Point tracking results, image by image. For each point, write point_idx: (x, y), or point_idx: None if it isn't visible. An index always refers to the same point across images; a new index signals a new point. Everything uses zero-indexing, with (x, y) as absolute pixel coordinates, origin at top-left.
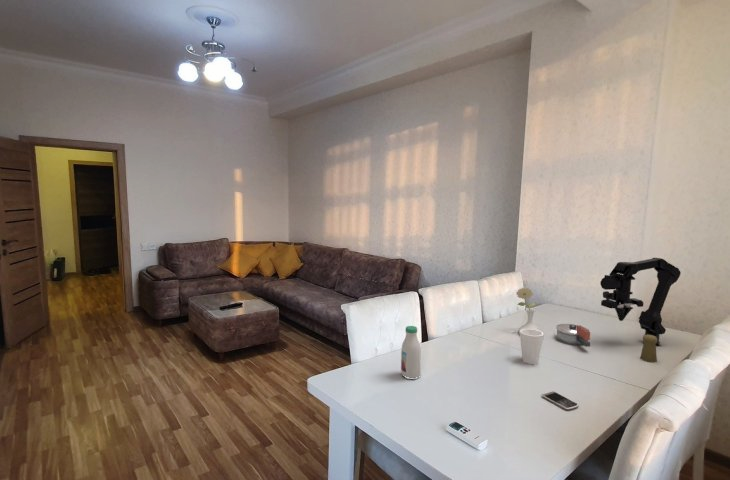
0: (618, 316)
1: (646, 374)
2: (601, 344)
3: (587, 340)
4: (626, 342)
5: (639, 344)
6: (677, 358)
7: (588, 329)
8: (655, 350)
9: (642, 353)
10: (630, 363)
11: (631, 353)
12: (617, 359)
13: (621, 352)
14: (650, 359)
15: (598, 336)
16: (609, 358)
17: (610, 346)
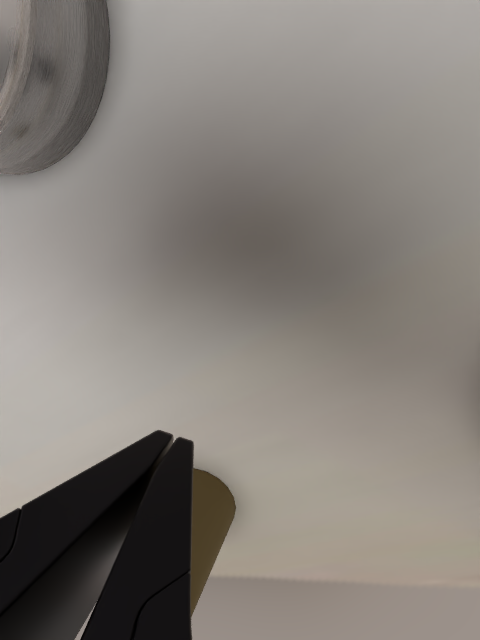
0: (92, 479)
1: None
2: (153, 220)
3: (19, 164)
4: (406, 288)
5: (454, 367)
6: (373, 579)
7: (2, 79)
8: None
9: None
10: (60, 470)
11: (195, 417)
12: (39, 416)
13: (150, 379)
14: None
15: (333, 36)
16: (8, 389)
17: (181, 281)
